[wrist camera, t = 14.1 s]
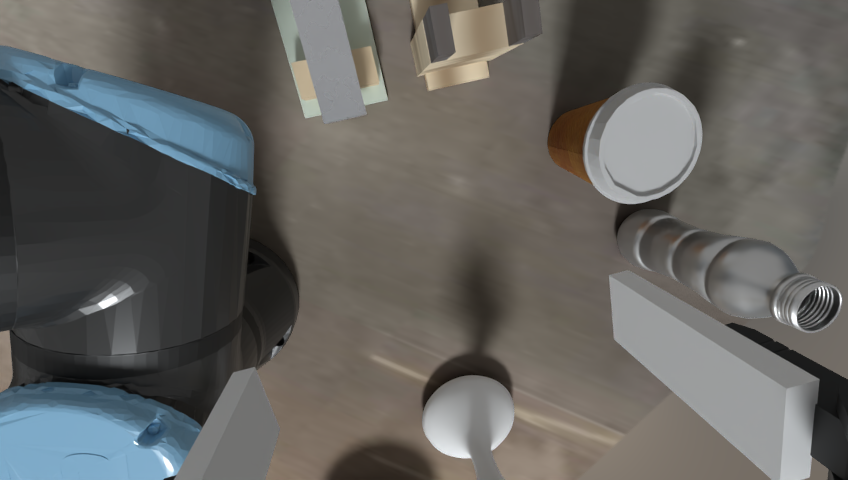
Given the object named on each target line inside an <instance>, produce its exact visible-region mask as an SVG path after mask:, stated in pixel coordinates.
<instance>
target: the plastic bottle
mask: <svg viewBox="0 0 848 480" xmlns="http://www.w3.org/2000/svg"><path fill="white" fill-rule="evenodd" d="M617 245H618V249H619V251H620V253H621V254H622V256H623V257H624V258H625V259H626V260H628V261H629V262H630V263H631V264H632V265H634V266H636V267H639V268H642V269H645V270H650V271H655V272H657V273H660V274H663V275H665V276H668V277H671V278H673V279H675V280H677V281H678V282H680V283H682V284H684V285H685V286H687V287H689V288H690V289H692V290H694V291H695V292H697V293H698V294H699V295H701V296H702V297H703V298H705V299H706V300H707V301H709V302H710V303H711V304H713V305H714V306H715V307H717V308H718V309H720V310H722V311H723V312H725V313H727V314H729V315H732V316H737V317H742V318H765V317H770V316H773V318H775V319H776V320H777V321H779V322H781V323H783V324H786V325H791V326H793V327H795V328H797V329H799V330H801V331H804V332H807V333H815V332H819V331H821V330H823V329H825V328H827V327H828V326H829V325H830V324H831V323H832V322H833V321H834V320H835V319H836V318H837V316H838V314H839V312H840V310H841V307H842V294H841V292H840V290H839V289H838V288H837V287H835V286H833V285H832V284H829V283H827V282H824V281H821V280H819V279H817V278H816V277H814V276H812V275H809V274H806V273H799V271H798V269H797V268H796V266H795V264H794V263H793V261H792V260H791V259H790V257H789V256H788V255H787V254H786V253H785V252H784V251H783V250H781V249H780V248H778V247H777V246H775V245H774V244H772V243H770V242H766V241H762V240H757V239H753V238H745V237H738V236H731V235H723V234H719V233H715V232H711V231H707V230H702V229H699V228H697V227H695V226H692V225H690V224H687V223H685V222H683V221H681V220H679V219H678V218H676V217H675V216H673V215H671V214H669V213H667V212H665V211H662V210H657V209H642V210H639V211H636V212H634V213H633V214H631V215H630V216H628V217H627V218H626V219H625V220H624V221H623V223H622V224H621V226H620V228H619V230H618V234H617Z"/></svg>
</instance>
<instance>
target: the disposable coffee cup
mask: <svg viewBox="0 0 848 480" xmlns="http://www.w3.org/2000/svg"><path fill="white" fill-rule="evenodd" d="M701 144H702V124H701V121H700V117H699V114H698V112H697V110H696V108H695V106H694V105H693V104H692V103H691V102H690V101H689V100H688V99H687V98H686V97H685V96H684V95H683V94H681V93H679V92H677V91H676V90H674V89H672V88H671V87H669V86H666V85H663V84H660V83H651V82H647V83H639V84H635V85H631V86H629V87H627V88H624V89H622V90H620V91H619V92H617V93H616V94H614V95H613V96H611V97H610V98H607V99H604V100H601V101H598V102H595V103H592V104H589V105H586V106H583V107H580V108H577V109H574V110H571V111H568V112H566V113H564V114H563V115H561V116H560V117H559V118H558V119H557V120H556V122H555V123H554V124H553V126H552V128H551V130H550V132H549V136H548V149H549V154H550V156H551V158H552V159H553V161H554V162H555V163H556V164H557V165H558V166H560V167H562V168H563V169H565V170H567V171H569V172H571V173H573V174H574V175H576V176H578V177H580V178H582V179H583V180H585V181H587V182H589V183H591V184H592V185H594V187H595V188H596V189H597V190H598V191H599V192H600V193H601V194H603V195H604V196H605V197H607V198H609V199H611V200H613V201H616V202H619V203H624V204H638V203H644V202H647V201H650V200H653V199H657V198H660V197H662V196H664V195H666V194H668V193H670V192H671V191H673V190H674V189H675V188H677V187H678V186H679V185H680V184H681V183H682V182H683V181H684V180H685V179H686V178H687V176H688V175H689V174H690V172H691V171H692V169H693V167H694V165H695V163H696V161H697V159H698V156H699V153H700V149H701Z"/></svg>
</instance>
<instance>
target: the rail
mask: <svg viewBox="0 0 848 480" xmlns="http://www.w3.org/2000/svg"><path fill="white" fill-rule="evenodd" d="M290 4H291V8H292V11H293V15H294V18H295V22H296V25H297V29H298V33H299V36H300V40H301V43H302V47H303V50H304V54H305V58H306V61H307V65H308V68H309V72H310V75H311V79H312V83H313V86H314V90H315V93H316V97H317V100H318V104H319V108H320V111H321V115H322V118H323V122H324V124H330V123H334V122H339V121H343V120H348V119H352V118H357V117H361V116H365V115H367V113H366V109H365V105H364V101H363V97H362V93H361V89H360V84H359V80H358V76H357V72H356V68H355V64H354V60H353V56H352V52H351V48H350V44H349V40H348V36H347V32H346V28H345V24H344V20H343V16H342V12H341V8H340V4H339V0H290Z"/></svg>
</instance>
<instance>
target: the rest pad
mask: <svg viewBox="0 0 848 480" xmlns="http://www.w3.org/2000/svg"><path fill="white" fill-rule="evenodd" d="M271 3H272V6H273V10H274V13H275V16H276V20H277V23H278V27H279V30H280V34H281V37H282V40H283V44H284V47H285V51H286V54H287V57H288V61H289V64H290V68H291V71H292V75H293V78H294V81H295V85H296V88H297V92H298V95H299V98H300V102H301V105H302V109H303V112H304V115H305V118H310V117H314V116H319V115H321V111H320V108H319V104H318V100H317V97H316V93H315V90H314V86H313V83H312V79H311V75H310V72H309V68H308V65H307V61H306V58H305V54H304V50H303V47H302V43H301V40H300V36H299V33H298V29H297V25H296V22H295V18H294V15H293V11H292V8H291V4H290V0H271ZM339 4H340V8H341V12H342V16H343V20H344V24H345V28H346V32H347V36H348V40H349V44H350V48H351V52H352V56H353V60H354V64H355V68H356V72H357V76H358V80H359V84H360V89H361V93H362V97H363V101H364V105H368V104H373V103H377V102H382V101H386V100H388V98H387V94H386V90H385V85H384V81H383V77H382V72H381V68H380V64H379V59H378V55H377V51H376V46H375V42H374V37H373V33H372V29H371V24H370V20H369V16H368V11H367V7H366V3H365V0H339Z"/></svg>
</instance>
